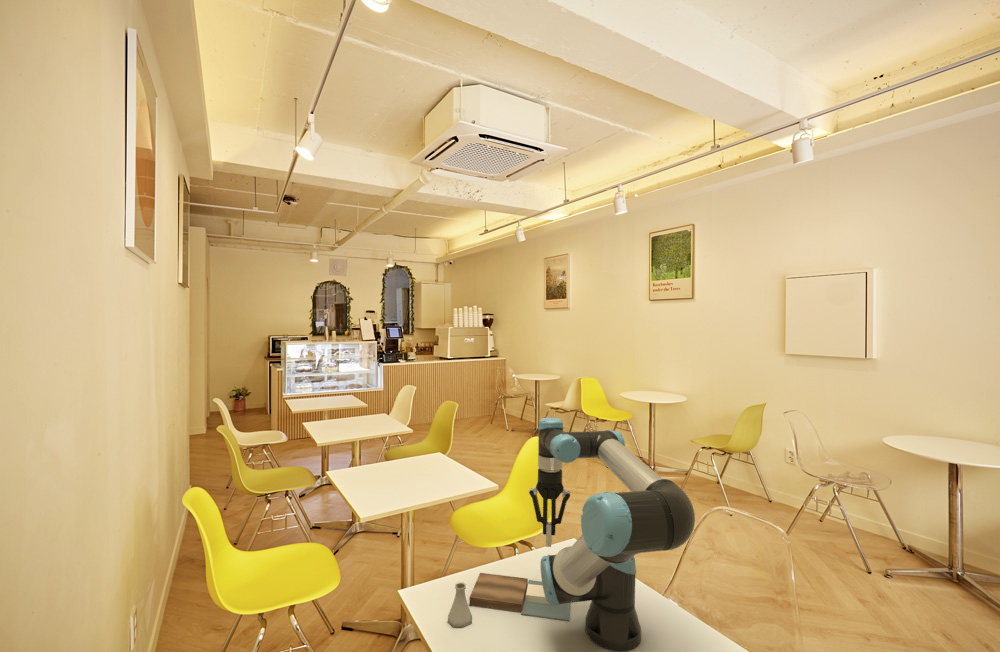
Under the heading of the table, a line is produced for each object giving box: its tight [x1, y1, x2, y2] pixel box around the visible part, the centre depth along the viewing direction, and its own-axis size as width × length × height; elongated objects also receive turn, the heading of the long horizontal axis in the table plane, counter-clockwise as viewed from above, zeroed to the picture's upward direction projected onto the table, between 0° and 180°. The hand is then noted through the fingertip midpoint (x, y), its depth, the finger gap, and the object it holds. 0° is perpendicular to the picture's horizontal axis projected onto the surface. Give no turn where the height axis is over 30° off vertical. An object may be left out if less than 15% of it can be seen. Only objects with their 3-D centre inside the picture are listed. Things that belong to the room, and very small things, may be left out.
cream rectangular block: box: [526, 584, 555, 605], centre depth 140 cm, size 6×9×2 cm, turn 80°
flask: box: [447, 582, 473, 628], centre depth 129 cm, size 7×7×10 cm
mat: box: [520, 579, 571, 622], centre depth 140 cm, size 18×14×1 cm
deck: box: [468, 572, 529, 614], centre depth 142 cm, size 14×16×2 cm
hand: (548, 544), depth 140 cm, fingers closed
